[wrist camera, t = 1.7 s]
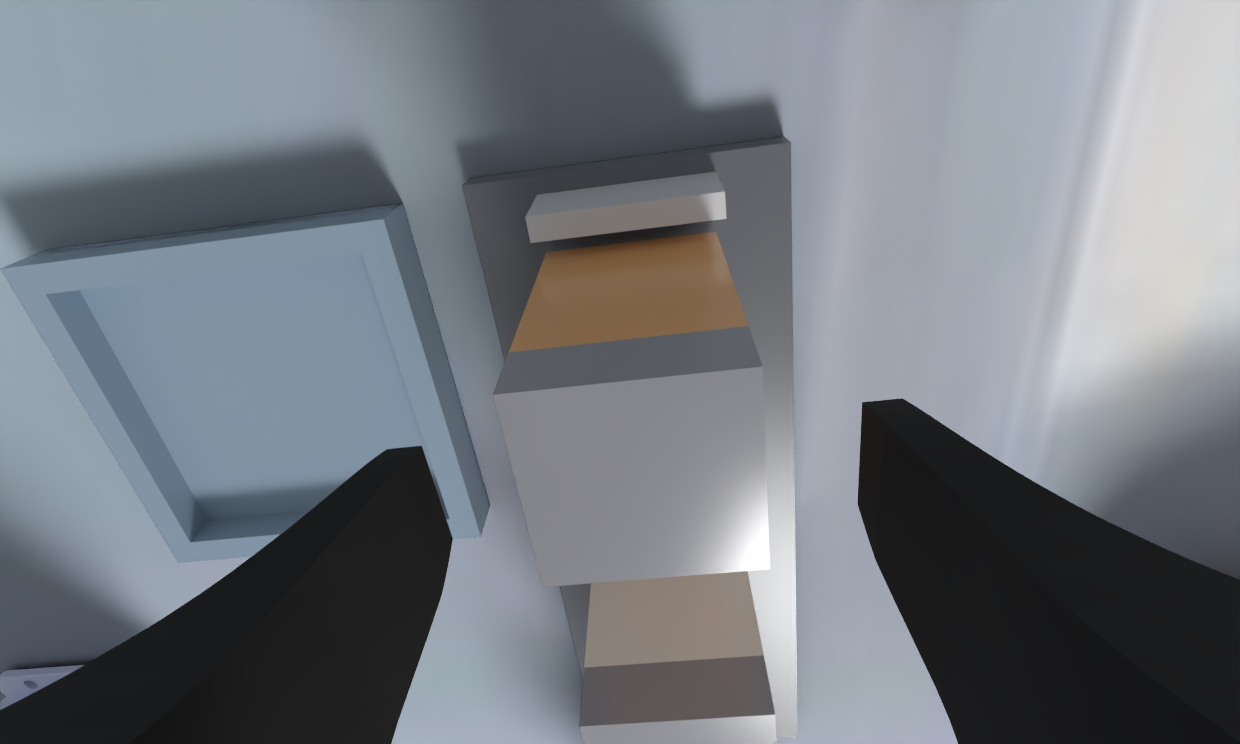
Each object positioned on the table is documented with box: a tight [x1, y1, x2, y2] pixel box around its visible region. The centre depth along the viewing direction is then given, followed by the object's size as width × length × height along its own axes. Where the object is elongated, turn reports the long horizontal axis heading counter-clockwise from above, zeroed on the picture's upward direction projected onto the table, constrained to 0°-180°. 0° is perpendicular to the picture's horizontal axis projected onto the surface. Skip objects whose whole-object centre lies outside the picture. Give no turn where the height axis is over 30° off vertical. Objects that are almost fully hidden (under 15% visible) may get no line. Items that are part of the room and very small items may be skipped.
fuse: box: [579, 571, 776, 744], centre depth 18 cm, size 4×4×8 cm
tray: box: [0, 203, 490, 563], centre depth 20 cm, size 10×10×2 cm
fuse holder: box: [462, 137, 797, 739], centre depth 21 cm, size 8×23×3 cm, turn 8°
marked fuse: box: [493, 221, 770, 587], centre depth 14 cm, size 4×4×8 cm
